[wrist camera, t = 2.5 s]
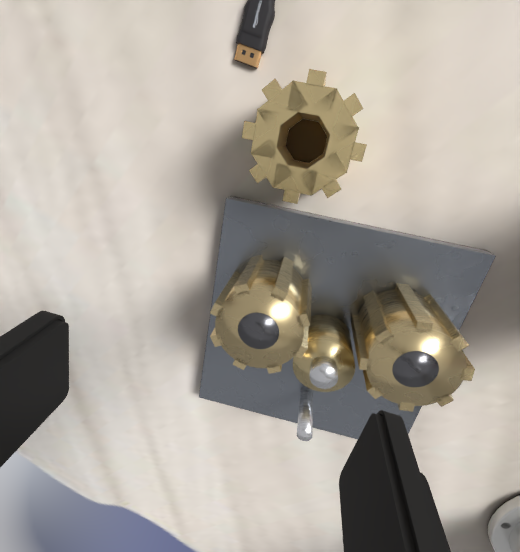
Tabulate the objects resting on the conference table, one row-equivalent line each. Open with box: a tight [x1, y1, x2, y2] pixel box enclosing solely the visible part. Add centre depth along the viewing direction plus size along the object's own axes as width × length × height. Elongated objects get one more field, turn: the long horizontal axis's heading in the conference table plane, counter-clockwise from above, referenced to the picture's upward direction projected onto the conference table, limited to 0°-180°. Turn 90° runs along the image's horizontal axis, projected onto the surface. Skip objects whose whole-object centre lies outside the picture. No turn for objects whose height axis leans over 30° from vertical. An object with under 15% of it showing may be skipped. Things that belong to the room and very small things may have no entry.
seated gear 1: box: [210, 254, 312, 374], centre depth 25 cm, size 7×7×6 cm
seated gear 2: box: [351, 283, 475, 412], centre depth 24 cm, size 7×7×6 cm
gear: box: [242, 69, 366, 204], centre depth 21 cm, size 7×7×6 cm
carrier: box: [199, 196, 495, 441], centre depth 27 cm, size 20×20×6 cm
